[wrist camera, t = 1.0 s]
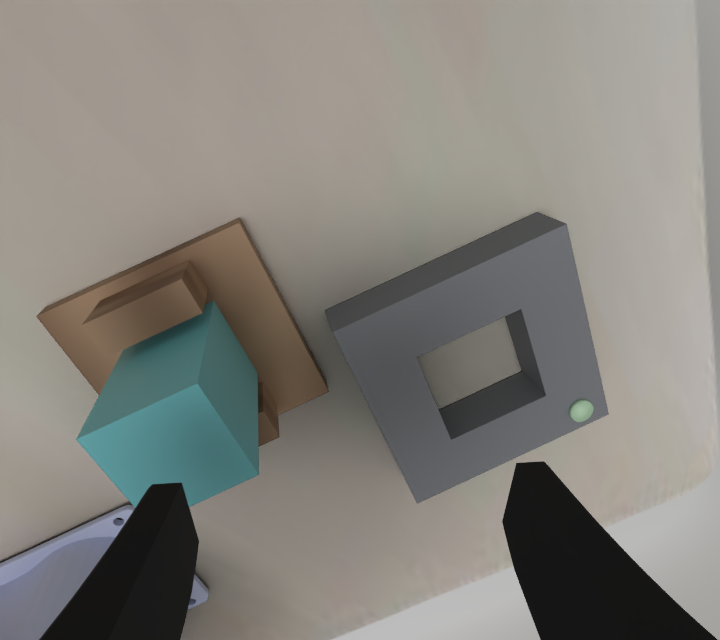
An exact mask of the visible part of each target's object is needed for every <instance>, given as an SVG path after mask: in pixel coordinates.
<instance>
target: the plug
mask: <svg viewBox="0 0 720 640" xmlns="http://www.w3.org/2000/svg"><path fill="white" fill-rule="evenodd" d="M76 440H77V441H78V442H79V443H80V445H81V446H82V447H83V448H84V449H85V450H86V452H87V453H88V454H89V455H90V456H91V457H92V458H93V460H94V461H95V462H96V463H97V464H98V465H99V467H100V468H101V469H102V470H103V471H104V472H105V473H106V475H107V476H108V477H109V478H110V479H111V480H112V482H113V483H114V484H115V485H116V486H117V487H118V488H119V490H120V491H121V492H122V493H123V494H124V495H125V497H126V498H127V499H128V500H129V501H130V502H131V504H132V505H133V506H134V507H135V508H136V506H137V505H138V503H139V502H140V500H141V498H142V497H143V495H144V494H145V492H146V491H147V489H148V488H149V487H150V486H151V485H152V484H164V483H181V482H182V485H183V488H184V492H185V495H186V499H187V502H188V506H189V507H190V506H192V505H195V504H197V503H199V502H201V501H203V500H205V499H207V498H210V497H212V496H214V495H216V494H218V493H220V492H223V491H225V490H227V489H229V488H231V487H233V486H235V485H238V484H240V483H242V482H244V481H246V480H248V479H250V478H253V477H255V476H257V475H259V447H258V373H257V371H256V370H255V368H254V366H253V365H252V363H251V361H250V360H249V358H248V356H247V355H246V353H245V351H244V350H243V348H242V346H241V345H240V343H239V341H238V340H237V338H236V336H235V335H234V333H233V331H232V330H231V328H230V326H229V325H228V323H227V321H226V320H225V318H224V316H223V315H222V313H221V311H220V310H219V308H218V306H217V305H216V303H215V301H212V302H209V303H207V304H205V305H204V309H203V313H201V314H199V315H197V316H195V317H193V318H191V319H188V320H186V321H184V322H182V323H180V324H178V325H176V326H173V327H171V328H169V329H167V330H165V331H163V332H160V333H158V334H156V335H154V336H152V337H150V338H147V339H145V340H143V341H141V342H139V343H137V344H134V345H132V346H130V347H128V348H126V349H124V350H123V351H122V353H121V355H120V357H119V359H118V361H117V363H116V365H115V366H114V368H113V370H112V372H111V374H110V376H109V378H108V380H107V382H106V384H105V385H104V387H103V389H102V391H101V393H100V395H99V397H98V399H97V401H96V403H95V405H94V406H93V408H92V410H91V412H90V414H89V416H88V418H87V420H86V422H85V424H84V425H83V427H82V429H81V431H80V433H79V435H78V437H77V439H76Z"/></svg>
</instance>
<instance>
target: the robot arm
mask: <svg viewBox="0 0 720 640" xmlns="http://www.w3.org/2000/svg"><path fill="white" fill-rule="evenodd" d="M116 518H122V519H123V520H118V519H116ZM502 522H503V526H504V530H505V534H506V538H507V543H508V547H509V550H510V554H511V558H512V562H513V565H514V569H515V572H516V575H517V577H518V580H519V583H520V586H521V588H522V591H523V594H524V596H525V599H526V602H527V604H528V607H529V609H530V612H531V615H532V617H533V620H534V623H535V626H536V628H537V631H538V634H539V636H540V639H541V640H717V639H716V638H715V637H714V636H713V635H712V634H711V633H709V632H708V631H707V630H706V629H705V628H704V627H703V626H701V625H700V624H699V623H698V622H697V621H696V620H695V619H694V618H693V617H691V616H690V615H689V614H688V613H687V612H686V611H685V610H684V609H683V608H681V606H680V605H678V604H677V603H676V602H675V601H674V600H673V599H672V598H671V597H670V596H669V595H668V594H667V593H666V592H665V591H664V590H663V589H662V588H661V587H660V586H659V585H658V584H657V583H656V582H655V581H654V580H653V579H652V578H651V577H650V576H648V575H647V574H646V572H645V571H643V569H641V567H639V565H638V564H637V563H636V562H635V561H634V560H633V559H632V558H631V557H630V556H629V555H628V554H627V553H626V552H625V551H624V550H623V549H622V548H621V547H620V546H619V545H618V543H617V542H616V541H615V540H614V539H613V538H612V537H611V536H610V535H609V534H608V533H607V532H606V531H605V530H604V529H603V527H602V526H601V525H600V524H599V523H598V522H597V521H596V520H595V519H594V518H593V516H592V515H591V514H590V513H589V512H588V511H587V510H586V509H585V507H584V506H583V505H582V504H581V503H580V502H579V501H578V500H577V498H576V497H575V496H574V495H573V494H572V493H571V492H570V490H569V489H568V488H567V487H566V486H565V485H564V484H563V482H562V481H561V480H560V479H559V478H558V477H557V475H556V474H555V473H554V472H553V471H552V470H551V468H550V467H549V466H548V465H547V464H546V463H545V462H527V463H516V467H515V472H514V476H513V480H512V484H511V488H510V492H509V496H508V501H507V505H506V509H505V513H504V517H503V521H502ZM198 544H199V540H198V537H197V533H196V530H195V526H194V523H193V519H192V516H191V512H190V509H189V506H188V502H187V499H186V495H185V492H184V488H183V485H182V482H181V483H164V484H152V485H151V486H150V487H149V488H148V489H147V491H146V492H145V494H144V495H143V497H142V498H141V500H140V502H139V503H138V505H137V506H136V508H135V507H134V506H133V505H126V506H123V507H121V508H118V509H116V510H114V511H112V512H110V513H108V514H106V515H103V516H101V517H99V518H97V519H95V520H93V521H90V522H88V523H86V524H84V525H82V526H80V527H78V528H75V529H73V530H71V531H69V532H67V533H65V534H62V535H60V536H58V537H56V538H54V539H52V540H50V541H47V542H45V543H43V544H41V545H39V546H37V547H35V548H32V549H30V550H28V551H26V552H24V553H22V554H19V555H17V556H15V557H13V558H11V559H9V560H7V561H4V562H2V563H0V640H180V638H181V634H182V630H183V626H184V622H185V618H186V614H187V610H189V609H191V608H193V607H195V606H197V605H200V604H202V603H204V602H205V601H207V599H208V595H209V591H208V589H207V588H206V586H205V585H204V584H203V583H202V582H201V581H200V579H199V578H198V577H197V576H196V575H195V567H196V560H197V552H198Z"/></svg>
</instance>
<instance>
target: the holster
mask: <svg viewBox="0 0 720 640" xmlns="http://www.w3.org/2000/svg"><path fill="white" fill-rule="evenodd" d="M212 301H215V303H216V305H217V306H218V308H219V310H220V311H221V313H222V315H223V316H224V318H225V320H226V321H227V323H228V325H229V326H230V328H231V330H232V331H233V333H234V335H235V336H236V338H237V340H238V341H239V343H240V345H241V346H242V348H243V350H244V351H245V353H246V355H247V356H248V358H249V360H250V361H251V363H252V365H253V366H254V368H255V370H256V371H257V373H258V447H259V446H261V445H263V444H265V443H268V442H270V441H272V440H274V439H276V438H278V437H279V425H278V415H279V414H281V413H283V412H286V411H288V410H290V409H292V408H294V407H296V406H299V405H301V404H303V403H305V402H307V401H309V400H311V399H314V398H316V397H318V396H320V395H322V394H324V393H326V392H329V390H328V386H327V382H326V380H325V378H324V376H323V374H322V372H321V370H320V368H319V366H318V364H317V363H316V361H315V359H314V357H313V355H312V353H311V351H310V349H309V347H308V346H307V344H306V342H305V340H304V338H303V336H302V334H301V332H300V330H299V329H298V327H297V325H296V323H295V321H294V319H293V317H292V315H291V313H290V312H289V310H288V308H287V306H286V304H285V302H284V300H283V298H282V296H281V294H280V293H279V291H278V289H277V287H276V285H275V283H274V281H273V279H272V277H271V276H270V274H269V272H268V270H267V268H266V266H265V264H264V262H263V260H262V259H261V257H260V255H259V253H258V251H257V249H256V247H255V245H254V243H253V242H252V240H251V238H250V236H249V234H248V232H247V230H246V228H245V226H244V225H243V223H242V221H241V219H240V218H238V219H236V220H233V221H231V222H229V223H227V224H225V225H223V226H220V227H218V228H216V229H214V230H212V231H210V232H207V233H205V234H203V235H201V236H199V237H197V238H194V239H192V240H190V241H188V242H186V243H184V244H181V245H179V246H177V247H175V248H173V249H171V250H168V251H166V252H164V253H162V254H160V255H158V256H155V257H153V258H151V259H149V260H147V261H145V262H142V263H140V264H138V265H136V266H134V267H132V268H129V269H127V270H125V271H123V272H121V273H119V274H116V275H114V276H112V277H110V278H108V279H106V280H103V281H101V282H99V283H97V284H95V285H93V286H90V287H88V288H86V289H84V290H82V291H80V292H77V293H75V294H73V295H71V296H69V297H67V298H64V299H62V300H60V301H58V302H56V303H54V304H51V305H49V306H47V307H45V308H44V309H43V310H42V311H41V312H40V313H39V314H38V315H37V316H36V317H37V318H38V319H39V320H40V322H41V323H42V324H43V326H44V327H45V328H46V329H47V331H48V332H49V333H50V334H51V336H52V337H53V338H54V339H55V341H56V342H57V343H58V344H59V346H60V347H61V348H62V349H63V351H64V352H65V353H66V354H67V356H68V357H69V358H70V359H71V361H72V362H73V363H74V364H75V366H76V367H77V368H78V369H79V371H80V372H81V373H82V375H83V376H84V377H85V378H86V380H87V381H88V382H89V383H90V385H91V386H92V387H93V388H94V390H95V391H96V392H97V393H98V395H100V393H101V391H102V389H103V387H104V385H105V384H106V382H107V380H108V378H109V376H110V374H111V372H112V370H113V368H114V366H115V365H116V363H117V361H118V359H119V357H120V355H121V353H122V351H123V350H124V349H126V348H128V347H130V346H132V345H134V344H137V343H139V342H141V341H143V340H145V339H147V338H150V337H152V336H154V335H156V334H158V333H160V332H163V331H165V330H167V329H169V328H171V327H173V326H176V325H178V324H180V323H182V322H184V321H186V320H188V319H191V318H193V317H195V316H197V315H199V314H201V313H203V309H204V305H205V304H207V303H209V302H212Z"/></svg>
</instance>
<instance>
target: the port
mask: <svg viewBox="0 0 720 640" xmlns="http://www.w3.org/2000/svg"><path fill="white" fill-rule="evenodd" d="M325 312H326V315H327V318H328V321H329V324H330V327H331V330H332V333H333V335H334V337H335V339H336V341H337V343H338V345H339V347H340V349H341V351H342V353H343V355H344V357H345V359H346V361H347V363H348V365H349V367H350V369H351V371H352V373H353V375H354V377H355V379H356V381H357V383H358V385H359V387H360V389H361V391H362V393H363V395H364V397H365V399H366V401H367V403H368V405H369V407H370V409H371V411H372V413H373V415H374V417H375V419H376V421H377V423H378V425H379V427H380V430H381V432H382V434H383V436H384V438H385V440H386V442H387V444H388V446H389V448H390V450H391V452H392V454H393V456H394V458H395V460H396V462H397V464H398V466H399V468H400V470H401V472H402V474H403V476H404V478H405V480H406V482H407V484H408V486H409V488H410V490H411V492H412V494H413V496H414V498H415V500H416V502H417V503H420V502H422V501H424V500H426V499H428V498H430V497H432V496H435V495H437V494H439V493H441V492H443V491H445V490H447V489H450V488H452V487H454V486H456V485H458V484H460V483H462V482H465V481H467V480H469V479H471V478H473V477H475V476H477V475H480V474H482V473H484V472H486V471H488V470H490V469H492V468H495V467H497V466H499V465H501V464H503V463H505V462H507V461H510V460H512V459H514V458H516V457H518V456H520V455H522V454H525V453H527V452H529V451H531V450H533V449H535V448H537V447H540V446H542V445H544V444H546V443H548V442H550V441H552V440H555V439H557V438H559V437H561V436H563V435H565V434H567V433H570V432H572V431H574V430H576V429H578V428H580V427H582V426H585V425H587V424H589V423H591V422H593V421H595V420H597V419H600V418H602V417H604V416H606V415H608V414H609V413H608V409H607V404H606V400H605V395H604V391H603V386H602V382H601V377H600V372H599V368H598V363H597V359H596V354H595V350H594V345H593V341H592V336H591V332H590V327H589V323H588V318H587V314H586V309H585V305H584V300H583V296H582V291H581V287H580V282H579V277H578V273H577V268H576V264H575V259H574V255H573V250H572V246H571V241H570V237H569V232H568V228H567V224H566V223H563V222H561V221H558V220H556V219H553V218H551V217H548V216H546V215H543V214H541V213H538V212H536V213H534V214H532V215H530V216H528V217H526V218H523V219H521V220H519V221H517V222H515V223H513V224H510V225H508V226H506V227H504V228H502V229H500V230H498V231H495V232H493V233H491V234H489V235H487V236H485V237H482V238H480V239H478V240H476V241H474V242H472V243H469V244H467V245H465V246H463V247H461V248H459V249H457V250H454V251H452V252H450V253H448V254H446V255H444V256H441V257H439V258H437V259H435V260H433V261H431V262H428V263H426V264H424V265H422V266H420V267H418V268H415V269H413V270H411V271H409V272H407V273H405V274H403V275H400V276H398V277H396V278H394V279H392V280H390V281H387V282H385V283H383V284H381V285H379V286H377V287H374V288H372V289H370V290H368V291H366V292H364V293H362V294H359V295H357V296H355V297H353V298H351V299H349V300H346V301H344V302H342V303H340V304H338V305H336V306H333V307H331V308H329V309H327V310H325ZM503 317H506V320H507V323H508V327H509V330H510V333H511V336H512V340H513V343H514V346H515V349H516V353H517V356H518V359H519V363H520V366H521V369H522V372H520V373H518V374H515V375H513V376H511V377H509V378H507V379H505V380H503V381H500V382H498V383H496V384H494V385H492V386H490V387H488V388H485V389H483V390H481V391H479V392H477V393H475V394H472V395H470V396H468V397H466V398H464V399H462V400H460V401H457V402H455V403H453V404H451V405H449V406H447V407H445V408H442V409H440V410H438V407H437V405H436V403H435V400H434V398H433V395H432V393H431V391H430V388H429V386H428V383H427V381H426V379H425V376H424V374H423V371H422V369H421V367H420V364H419V362H418V359H417V357H419V356H421V355H423V354H425V353H427V352H429V351H431V350H434V349H436V348H438V347H440V346H442V345H444V344H447V343H449V342H451V341H453V340H455V339H457V338H459V337H462V336H464V335H466V334H468V333H470V332H472V331H475V330H477V329H479V328H481V327H483V326H485V325H487V324H490V323H492V322H494V321H496V320H498V319H500V318H503Z"/></svg>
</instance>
